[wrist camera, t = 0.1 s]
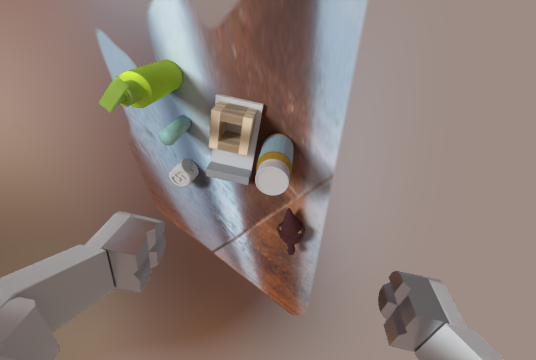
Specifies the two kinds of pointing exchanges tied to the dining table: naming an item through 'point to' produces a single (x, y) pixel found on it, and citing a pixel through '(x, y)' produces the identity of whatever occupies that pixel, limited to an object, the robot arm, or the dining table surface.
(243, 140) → the block
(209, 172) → the grey l-shaped tray
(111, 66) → the dining table surface
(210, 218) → the dining table surface
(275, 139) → the bottle
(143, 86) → the soap dispenser
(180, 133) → the dowel
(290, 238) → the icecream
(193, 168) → the die
